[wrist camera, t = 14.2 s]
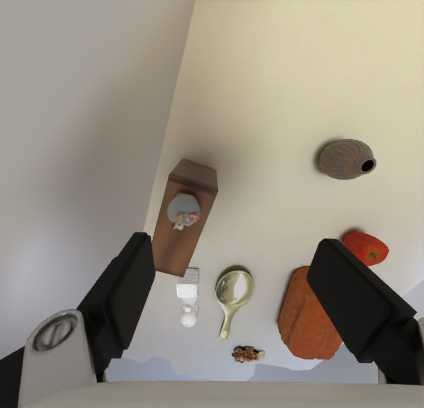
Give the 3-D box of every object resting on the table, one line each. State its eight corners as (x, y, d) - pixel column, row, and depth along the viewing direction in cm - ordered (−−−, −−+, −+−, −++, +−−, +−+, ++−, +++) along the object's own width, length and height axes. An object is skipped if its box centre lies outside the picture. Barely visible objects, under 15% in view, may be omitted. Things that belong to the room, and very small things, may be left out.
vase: (354, 158, 33) (399, 169, 26) (321, 180, 35) (353, 195, 27) (341, 129, 31) (385, 130, 23) (306, 154, 33) (336, 163, 25)
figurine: (174, 186, 23) (163, 204, 18) (205, 194, 24) (203, 214, 18) (168, 217, 25) (156, 242, 20) (196, 224, 26) (192, 251, 20)
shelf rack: (163, 230, 41) (145, 268, 30) (183, 158, 33) (169, 173, 22) (190, 238, 42) (183, 277, 31) (216, 170, 34) (218, 190, 24)
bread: (273, 325, 56) (285, 365, 47) (291, 265, 45) (312, 302, 36) (318, 325, 57) (340, 366, 47) (348, 266, 45) (384, 303, 36)
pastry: (261, 357, 65) (264, 369, 62) (231, 355, 65) (232, 367, 61) (266, 347, 62) (269, 359, 59) (235, 345, 62) (236, 357, 58)
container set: (179, 266, 46) (175, 284, 41) (199, 267, 46) (197, 284, 41) (182, 313, 54) (179, 332, 49) (198, 314, 54) (197, 333, 49)
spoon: (236, 333, 61) (237, 340, 59) (207, 332, 61) (207, 338, 59) (258, 267, 45) (260, 273, 43) (218, 264, 44) (219, 270, 42)
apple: (352, 221, 40) (381, 241, 33) (369, 232, 41) (400, 254, 34) (331, 240, 42) (354, 262, 35) (348, 250, 43) (373, 273, 36)
